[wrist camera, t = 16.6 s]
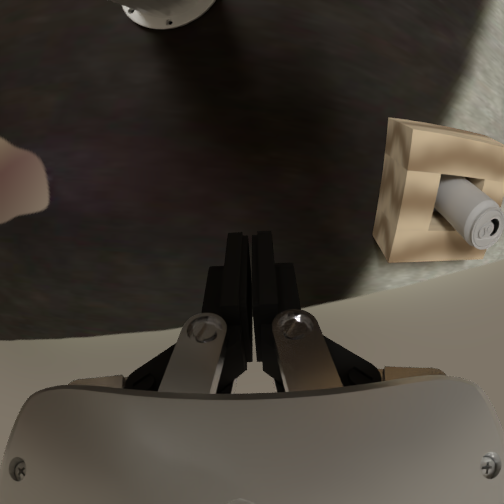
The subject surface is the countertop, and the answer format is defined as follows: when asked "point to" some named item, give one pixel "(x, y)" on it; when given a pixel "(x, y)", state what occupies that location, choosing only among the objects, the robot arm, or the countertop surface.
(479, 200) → the beverage can
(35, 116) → the countertop surface
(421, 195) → the holder block
